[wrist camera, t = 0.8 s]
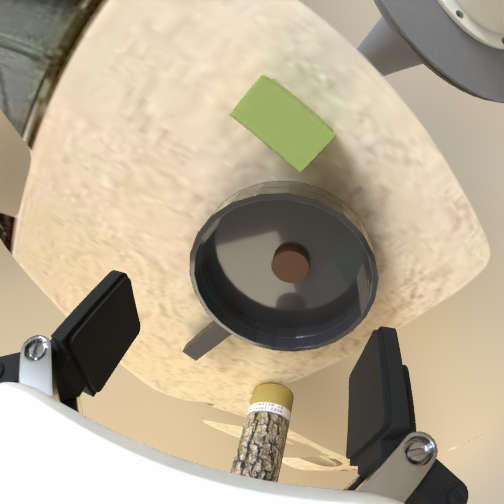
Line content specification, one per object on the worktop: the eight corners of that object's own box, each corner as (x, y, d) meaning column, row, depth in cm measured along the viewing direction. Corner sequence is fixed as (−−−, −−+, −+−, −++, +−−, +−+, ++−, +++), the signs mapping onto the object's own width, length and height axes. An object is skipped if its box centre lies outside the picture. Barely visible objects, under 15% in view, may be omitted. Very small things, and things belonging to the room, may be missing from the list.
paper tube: (246, 388, 46) (203, 520, 25) (274, 376, 43) (235, 526, 22) (274, 405, 47) (242, 530, 26) (302, 395, 44) (275, 534, 23)
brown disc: (289, 238, 30) (288, 243, 29) (317, 263, 30) (317, 268, 30) (265, 262, 32) (263, 267, 31) (292, 284, 33) (291, 289, 32)
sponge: (273, 79, 23) (261, 74, 18) (332, 128, 24) (336, 136, 19) (246, 111, 25) (228, 114, 20) (303, 159, 26) (300, 173, 21)
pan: (275, 140, 26) (268, 147, 22) (405, 267, 29) (413, 288, 25) (175, 262, 35) (160, 281, 32) (289, 348, 39) (285, 370, 35)
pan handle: (224, 310, 36) (220, 319, 34) (239, 321, 36) (236, 330, 35) (186, 343, 41) (182, 351, 40) (199, 352, 41) (195, 360, 40)
